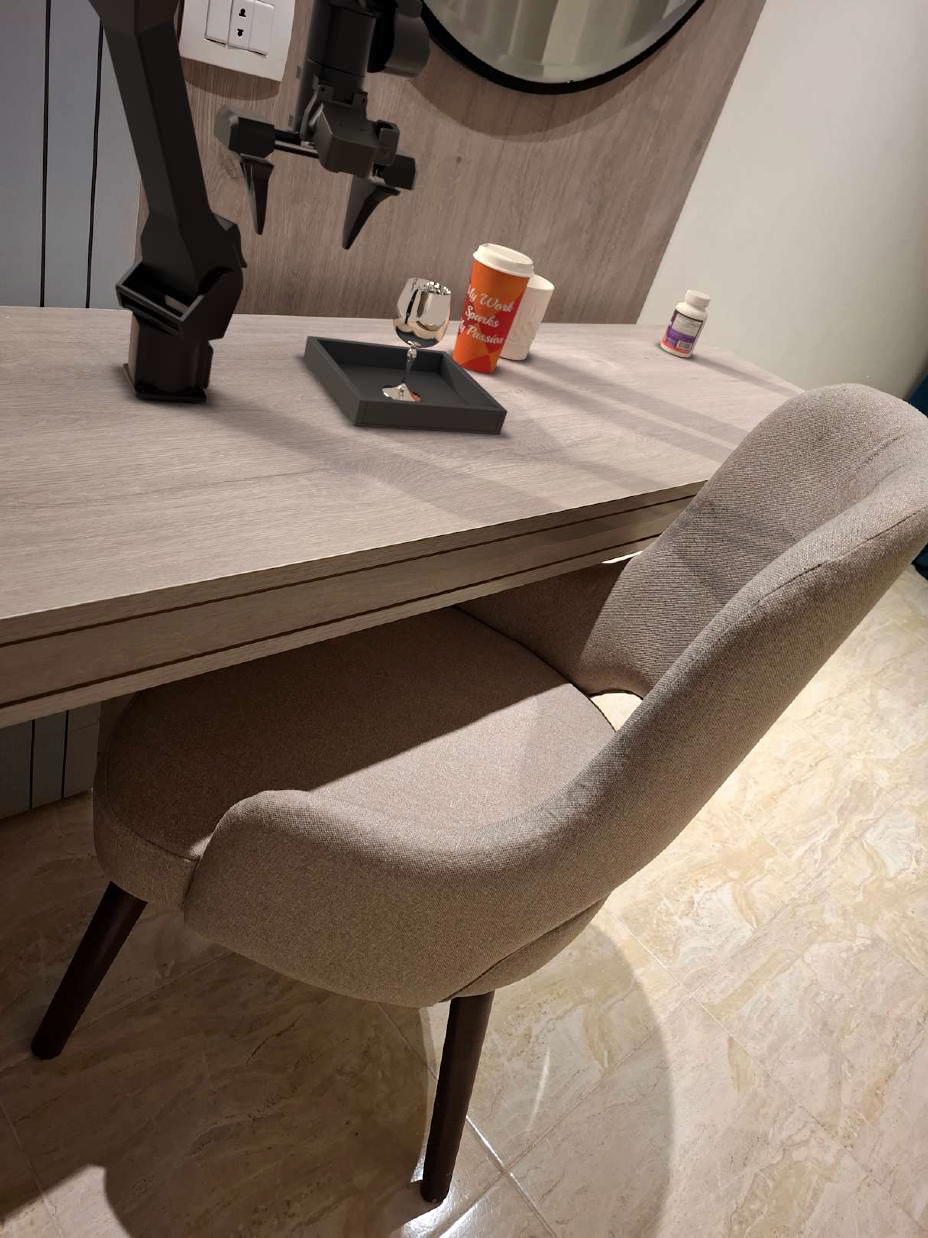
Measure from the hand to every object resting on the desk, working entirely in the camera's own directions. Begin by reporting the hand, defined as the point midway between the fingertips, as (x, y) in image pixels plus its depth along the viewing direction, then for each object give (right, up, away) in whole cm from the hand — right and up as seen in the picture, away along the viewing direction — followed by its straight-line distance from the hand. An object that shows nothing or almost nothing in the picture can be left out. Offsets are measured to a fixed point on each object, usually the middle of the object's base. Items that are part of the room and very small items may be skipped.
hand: (302, 241), depth 90 cm
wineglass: (+9, -13, +9) cm, 19 cm away
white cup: (+21, -1, +34) cm, 40 cm away
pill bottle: (+51, +7, +61) cm, 80 cm away
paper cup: (+17, -5, +26) cm, 32 cm away
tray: (+9, -13, +9) cm, 19 cm away
